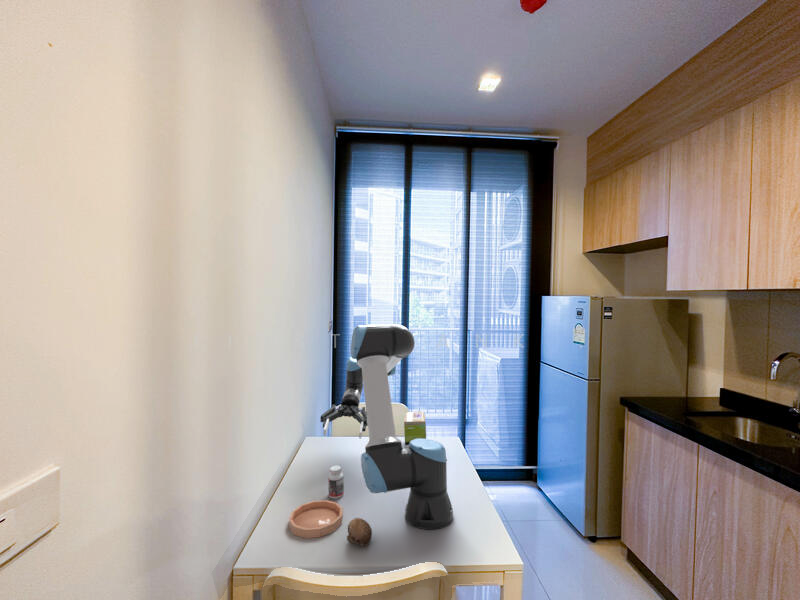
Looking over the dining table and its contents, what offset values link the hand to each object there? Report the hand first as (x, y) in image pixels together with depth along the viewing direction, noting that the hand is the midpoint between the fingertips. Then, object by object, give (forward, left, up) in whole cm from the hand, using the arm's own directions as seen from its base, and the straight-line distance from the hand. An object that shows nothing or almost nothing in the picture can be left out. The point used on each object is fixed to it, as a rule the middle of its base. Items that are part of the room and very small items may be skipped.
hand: (342, 434), depth 140 cm
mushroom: (-34, +12, -19) cm, 41 cm away
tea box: (+12, -44, -19) cm, 50 cm away
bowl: (-17, +18, -19) cm, 31 cm away
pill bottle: (-6, +6, -19) cm, 21 cm away
